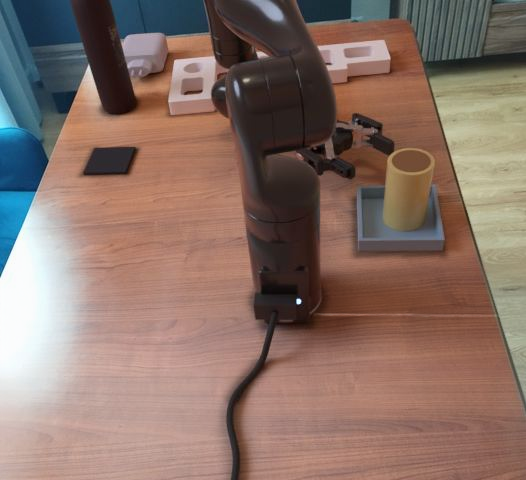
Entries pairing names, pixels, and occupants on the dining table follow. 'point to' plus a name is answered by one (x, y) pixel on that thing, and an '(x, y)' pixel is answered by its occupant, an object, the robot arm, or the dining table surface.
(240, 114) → the robot arm
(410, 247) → the tray
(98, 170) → the coaster
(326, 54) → the holder
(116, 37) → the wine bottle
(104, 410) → the dining table surface
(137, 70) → the charger
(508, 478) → the dining table surface
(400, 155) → the cup
